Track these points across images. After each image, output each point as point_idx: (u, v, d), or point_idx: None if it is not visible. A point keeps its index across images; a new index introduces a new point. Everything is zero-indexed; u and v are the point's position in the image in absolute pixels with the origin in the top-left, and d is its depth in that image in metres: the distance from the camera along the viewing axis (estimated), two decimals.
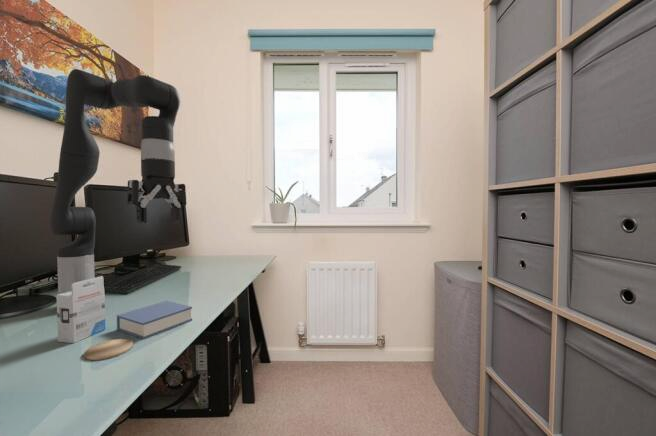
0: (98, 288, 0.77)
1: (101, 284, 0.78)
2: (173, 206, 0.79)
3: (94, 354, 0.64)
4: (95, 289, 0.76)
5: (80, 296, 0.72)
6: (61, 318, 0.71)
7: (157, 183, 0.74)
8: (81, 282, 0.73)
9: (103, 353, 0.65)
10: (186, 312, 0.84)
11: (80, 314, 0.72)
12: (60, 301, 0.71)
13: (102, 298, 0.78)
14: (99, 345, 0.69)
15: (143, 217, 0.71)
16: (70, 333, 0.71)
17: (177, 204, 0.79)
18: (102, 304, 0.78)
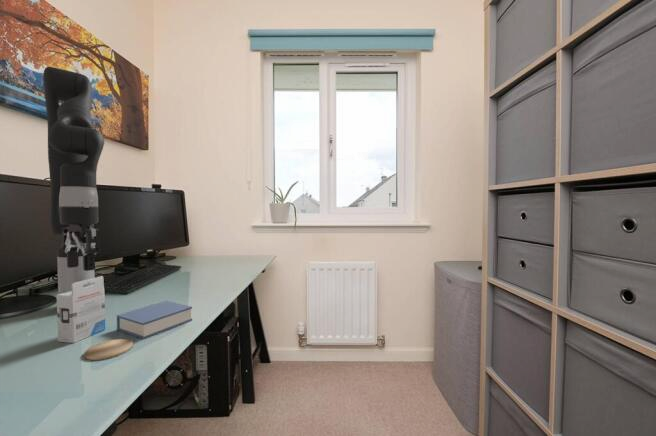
0: (98, 288, 0.77)
1: (101, 284, 0.78)
2: (72, 251, 0.76)
3: (94, 354, 0.64)
4: (95, 289, 0.76)
5: (80, 296, 0.72)
6: (61, 318, 0.71)
7: None
8: (81, 282, 0.73)
9: (103, 353, 0.65)
10: (186, 312, 0.84)
11: (80, 314, 0.72)
12: (60, 301, 0.71)
13: (102, 298, 0.78)
14: (99, 345, 0.69)
15: None
16: (70, 333, 0.71)
17: None
18: (102, 304, 0.78)
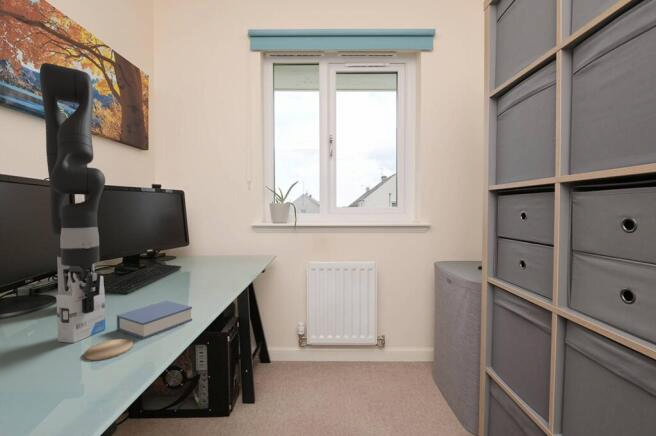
0: None
1: (101, 284, 0.78)
2: None
3: (94, 354, 0.64)
4: None
5: (80, 296, 0.72)
6: (61, 318, 0.71)
7: None
8: (81, 281, 0.73)
9: (103, 353, 0.65)
10: (186, 312, 0.84)
11: (80, 313, 0.72)
12: (60, 301, 0.71)
13: (102, 298, 0.78)
14: (99, 345, 0.69)
15: None
16: (70, 332, 0.71)
17: None
18: (102, 304, 0.78)
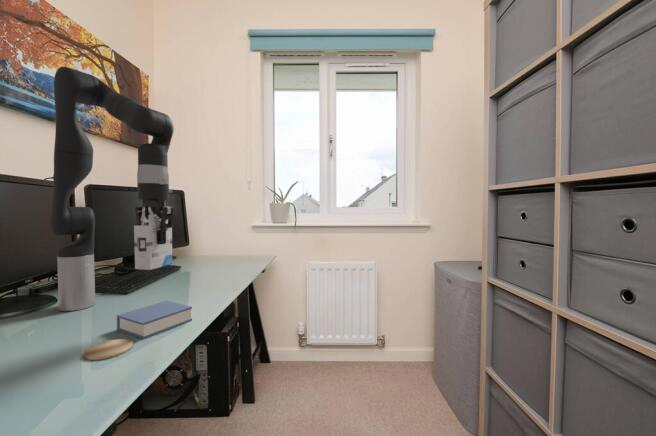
0: None
1: None
2: None
3: (94, 354, 0.64)
4: None
5: (155, 228, 0.79)
6: (138, 247, 0.77)
7: None
8: (155, 215, 0.79)
9: (103, 353, 0.65)
10: (186, 312, 0.84)
11: (154, 244, 0.79)
12: (137, 231, 0.77)
13: (170, 234, 0.84)
14: (99, 345, 0.69)
15: None
16: (147, 260, 0.77)
17: None
18: (170, 240, 0.84)
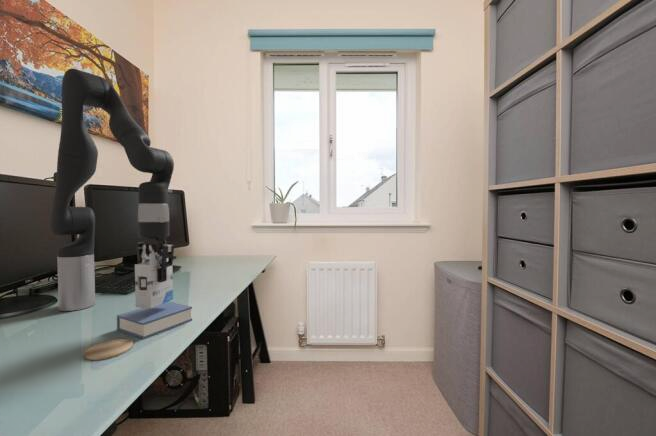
0: None
1: None
2: None
3: (94, 354, 0.64)
4: None
5: (155, 266, 0.79)
6: (139, 286, 0.78)
7: None
8: (156, 253, 0.79)
9: (103, 353, 0.65)
10: (186, 312, 0.84)
11: (155, 282, 0.79)
12: (138, 270, 0.78)
13: (170, 270, 0.84)
14: (99, 345, 0.69)
15: None
16: (147, 299, 0.77)
17: None
18: (170, 276, 0.84)
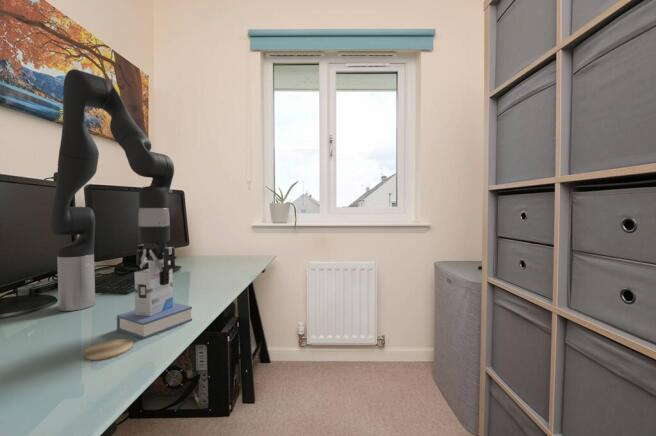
0: None
1: (170, 264, 0.84)
2: (146, 266, 0.83)
3: (94, 354, 0.64)
4: None
5: (155, 274, 0.79)
6: (138, 293, 0.78)
7: None
8: None
9: (103, 353, 0.65)
10: (186, 312, 0.84)
11: (155, 290, 0.79)
12: (138, 278, 0.78)
13: (170, 277, 0.85)
14: (99, 345, 0.69)
15: None
16: (147, 307, 0.78)
17: None
18: (170, 283, 0.85)
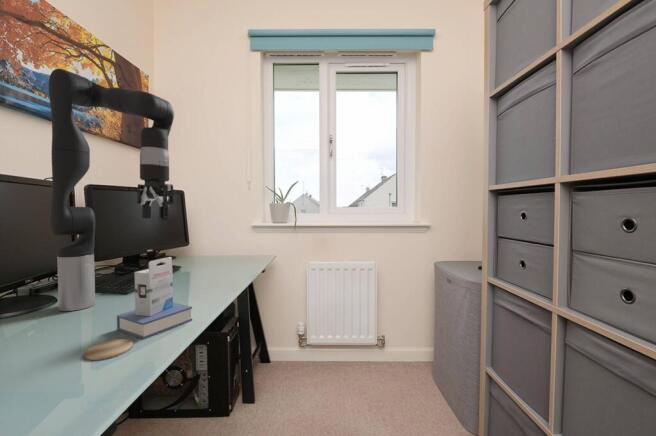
0: (168, 268, 0.84)
1: (170, 264, 0.84)
2: (146, 204, 0.89)
3: (94, 354, 0.64)
4: (166, 268, 0.83)
5: (155, 274, 0.79)
6: (138, 293, 0.78)
7: None
8: (155, 261, 0.80)
9: (103, 353, 0.65)
10: (186, 312, 0.84)
11: (155, 290, 0.79)
12: (138, 278, 0.78)
13: (170, 277, 0.85)
14: (99, 345, 0.69)
15: None
16: (147, 307, 0.78)
17: None
18: (170, 283, 0.85)
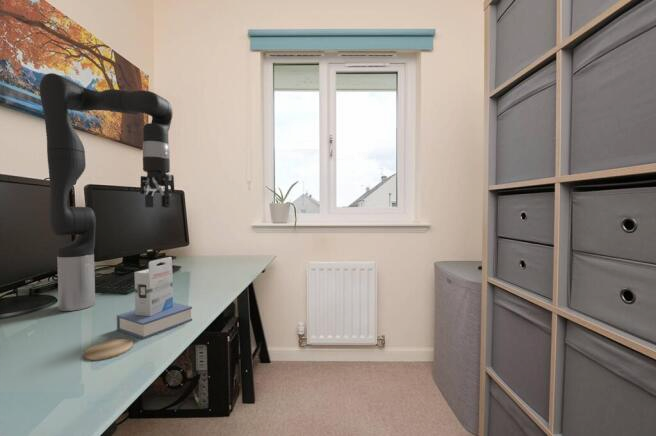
0: (168, 268, 0.84)
1: (170, 264, 0.84)
2: (149, 194, 0.97)
3: (94, 354, 0.64)
4: (166, 268, 0.83)
5: (155, 274, 0.79)
6: (138, 293, 0.78)
7: None
8: (155, 261, 0.80)
9: (103, 353, 0.65)
10: (186, 312, 0.84)
11: (155, 290, 0.79)
12: (138, 278, 0.78)
13: (170, 277, 0.85)
14: (99, 345, 0.69)
15: (168, 203, 0.94)
16: (147, 307, 0.78)
17: None
18: (170, 283, 0.85)
